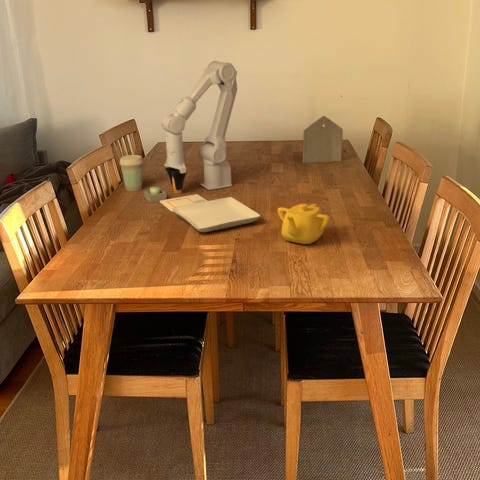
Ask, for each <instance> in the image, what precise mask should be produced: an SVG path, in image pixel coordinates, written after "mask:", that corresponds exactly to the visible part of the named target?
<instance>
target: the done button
mask: <svg viewBox="0 0 480 480" xmlns="http://www.w3.org/2000/svg"><path fill="white" fill-rule="evenodd" d="M160 189H161V188H160V186H151V187H149V190H150V194H151V195H153V194H159V193H160Z"/></svg>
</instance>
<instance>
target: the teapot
mask: <svg viewBox="0 0 480 480" xmlns="http://www.w3.org/2000/svg"><path fill="white" fill-rule="evenodd" d="M284 212H285V214H284ZM277 215H278V217H279V218H280V220H281V221H282V225H281V236H282V238H283V240H285V241H287V242H293V243H296V244H302V245H305V244H309V245H310V244H312V243H314V242H316V241H318V240H319V239H320V238H321V237H322V235H323V233H324V231H325V228H326V227H327V226H328V225H329V223H330V220H331V217H330V216H329V215H327V214H322V210H321V209H320V207H319V206H318V204H316V203H312V204H310V205H308V204H307V203H299V204H297V205H294V206H292V207H291V208H288V207H278V208H277Z"/></svg>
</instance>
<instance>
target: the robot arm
mask: <svg viewBox="0 0 480 480" xmlns="http://www.w3.org/2000/svg"><path fill="white" fill-rule="evenodd" d="M237 75H238V71H237V70H236V68H235V66H234V65H233V64H232V63H231V62H223V61H218V60H213V61H211V62H209V64H208V65H207V67H205V68H204V69H203V73H202V75H201V77H200V78H199V79H198V81H197V82H196V84H195V86H194V87H193V89H192V90H191V92H190V93H189V94H188V96H183V97H182V98H179V99H178V100H177V104H176V106H175V107H174V108H173V109H172V110H171V111H170V112H169V115H167V116H165V117H164V118H163V121H162V123H161V127H162V130H164V132H165V133H164V134H165V145H166V158H165V163H164V165H163V166H164V167H165V168H164V169H165V171H166V172H167V175H168V178H169V181H170V184H171V188H173V180H172V176H173V179H174V183H175V188H176V190H181V189H182V190H183V187H184V181H185V178H186V175H187V174H188V170H187V166H185V165H186V163H185V161H184V158H185V157H184V144H183V131H184V130H185V127H186V122H187V121H188V120H189V118H190V117H191V115H192V114H193V113H194V111H195V110H196V109H197V102H198V101H199V100H200V99H201V97H202V96H203V95H204V94H205V93H206V91H207V90H208V89H209V88H210V87H211V86H215V85H217V87H218V88H219V90H220V93H219V98H218V102H217V105H216V109H215V113H214V117H213V121H212V125H211V128H210V131H209V134H208V135H207V136H206V137H205V139H204V141H203V143H202V144H201V146H200V148H199V154H200V157H201V158H202V159H203V160H202V161H203V175H204V177H203V179H204V182H203V183H200V185H201V186H202V187H204V188H205V189H206V190H209V191H211V190H216V189H217V190H218V189H225V188H229V187H233V184H232V171H231V170H232V168H231V165H230V163H229V162H228V161H227V160H226V159H227V155H228V154H227V145H228V144H227V141H226V134H227V131H228V126H229V122H230V118H231V115H232V111H233V107H234V104H235V100H236V96H237V93H238V84H237Z"/></svg>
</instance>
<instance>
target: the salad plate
mask: <svg viewBox="0 0 480 480" xmlns="http://www.w3.org/2000/svg"><path fill="white" fill-rule="evenodd" d="M173 211H174V212H173V213H175V214H176V215H177V216H179V218H182V220H184V221H186V222H187V223H188V224H189V225H191V226H192V227H193V228H194V229H195V230H196V231H198V232H200V233H209V232H213V231H214V230H215V231H219V229H220V230H224V229H228V228H229V227H230V228H233V227H238V225H239V226H243V225H247V224H250V223H253V222H255V221H257V220H259V218H260V217H261V215H260V214H259V212H256V211H255V210H254V209H251V208H250V207H248V206H247V205H245V204H244V203H242V202H241V201H239V200H237V199H235V198H234V197H232V196H228V197H223V198H218V199H212V200H211V199H210V200H207V201H206V202H201V203H196V204H191V205H186V206H181V207H176V208H173ZM242 224H243V225H242Z"/></svg>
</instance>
